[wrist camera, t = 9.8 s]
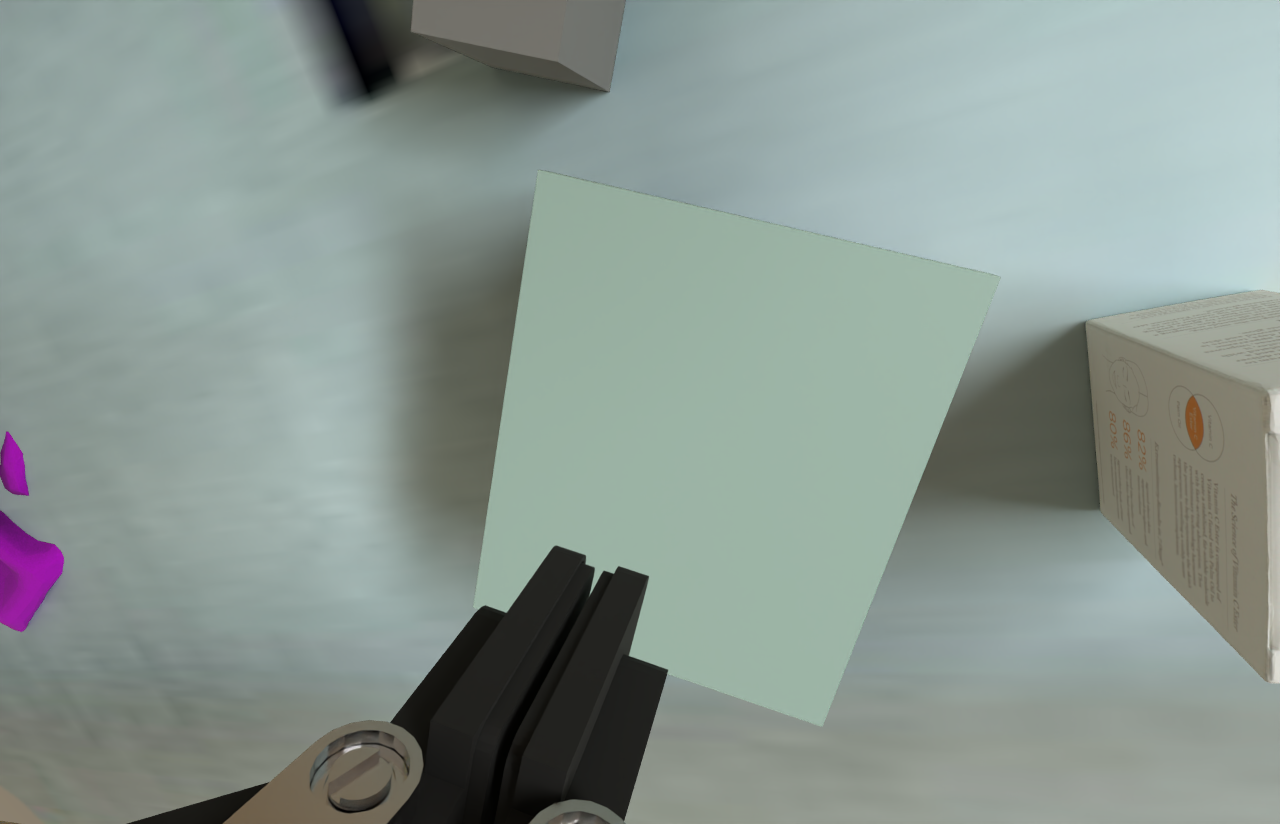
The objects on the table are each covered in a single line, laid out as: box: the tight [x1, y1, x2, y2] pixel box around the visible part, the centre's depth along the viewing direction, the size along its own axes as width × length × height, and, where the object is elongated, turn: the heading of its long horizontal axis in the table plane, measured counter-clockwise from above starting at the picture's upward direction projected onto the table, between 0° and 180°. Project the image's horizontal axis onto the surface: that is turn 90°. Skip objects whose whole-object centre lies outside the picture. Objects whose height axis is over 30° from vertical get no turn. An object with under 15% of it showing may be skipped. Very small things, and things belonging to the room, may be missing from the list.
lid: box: [473, 170, 1001, 727], centre depth 20 cm, size 15×12×1 cm
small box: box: [1085, 290, 1280, 683], centre depth 20 cm, size 8×6×10 cm
